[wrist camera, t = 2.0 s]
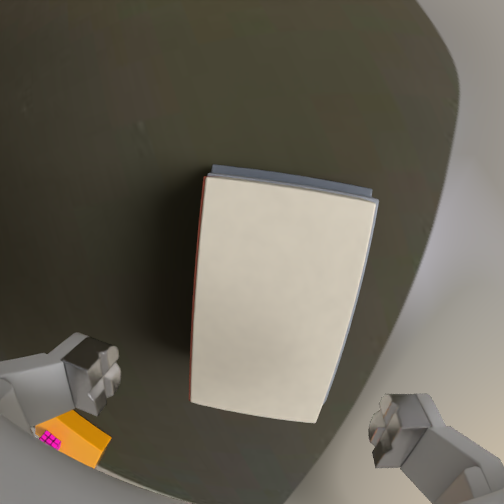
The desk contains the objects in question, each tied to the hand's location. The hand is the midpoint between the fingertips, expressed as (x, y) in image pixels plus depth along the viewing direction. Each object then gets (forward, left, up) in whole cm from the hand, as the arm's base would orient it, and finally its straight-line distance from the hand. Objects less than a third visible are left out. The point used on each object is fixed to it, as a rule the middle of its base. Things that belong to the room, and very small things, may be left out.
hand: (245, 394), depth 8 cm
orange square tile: (+27, +6, -10) cm, 29 cm away
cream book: (0, 0, -7) cm, 7 cm away
